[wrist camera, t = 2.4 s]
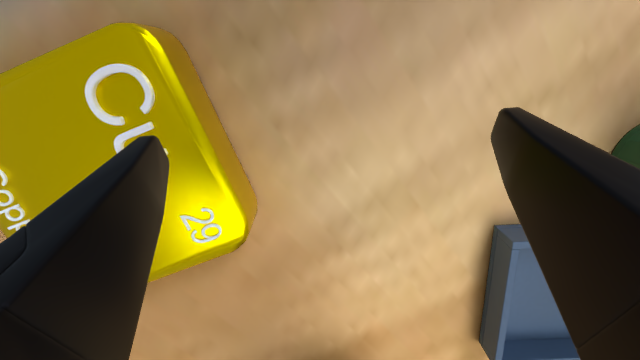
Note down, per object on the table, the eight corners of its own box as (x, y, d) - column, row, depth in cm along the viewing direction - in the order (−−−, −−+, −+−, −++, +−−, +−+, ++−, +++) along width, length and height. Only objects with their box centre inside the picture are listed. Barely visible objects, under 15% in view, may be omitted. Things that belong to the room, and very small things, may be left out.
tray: (660, 334, 32) (691, 358, 29) (478, 341, 32) (493, 367, 29) (698, 216, 28) (738, 232, 26) (494, 225, 28) (512, 242, 26)
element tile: (-25, 104, 24) (-102, 114, 20) (171, 17, 23) (137, 6, 19) (96, 279, 29) (57, 320, 25) (267, 216, 28) (258, 247, 23)
